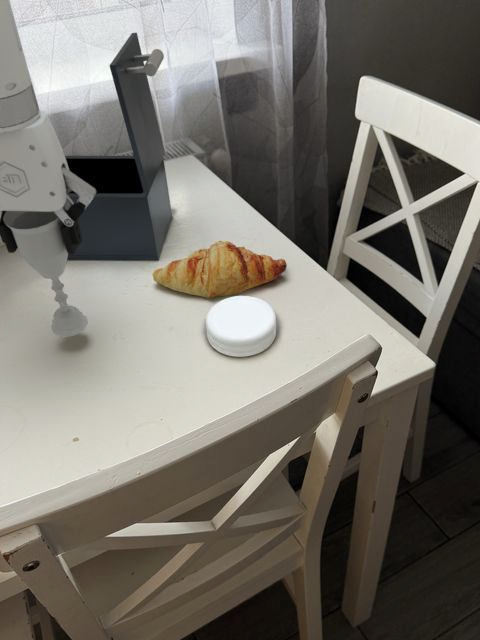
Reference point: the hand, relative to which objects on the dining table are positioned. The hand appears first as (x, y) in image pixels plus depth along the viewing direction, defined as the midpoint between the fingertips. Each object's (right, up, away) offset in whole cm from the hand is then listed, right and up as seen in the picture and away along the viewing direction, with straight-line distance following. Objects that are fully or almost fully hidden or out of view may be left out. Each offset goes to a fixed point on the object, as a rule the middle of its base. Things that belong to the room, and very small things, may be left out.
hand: (44, 246), depth 75 cm
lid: (+8, +23, +16) cm, 29 cm away
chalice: (0, -10, +9) cm, 13 cm away
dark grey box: (+1, +7, +31) cm, 32 cm away
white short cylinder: (+24, -11, +12) cm, 29 cm away
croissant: (+21, -2, +21) cm, 30 cm away
